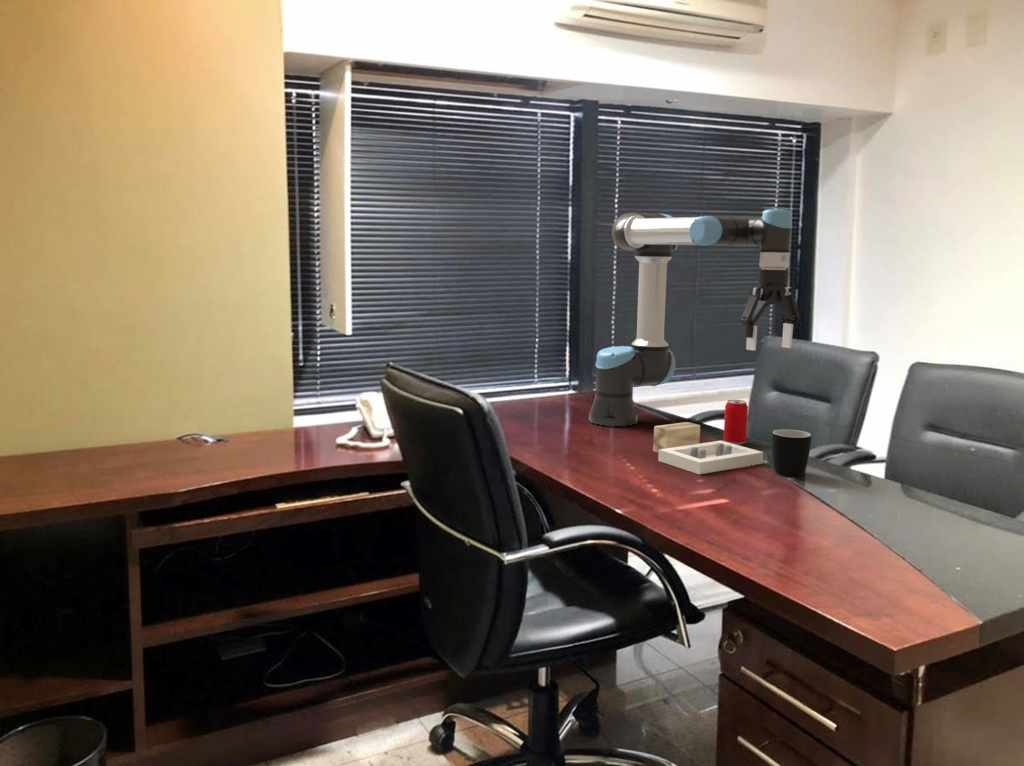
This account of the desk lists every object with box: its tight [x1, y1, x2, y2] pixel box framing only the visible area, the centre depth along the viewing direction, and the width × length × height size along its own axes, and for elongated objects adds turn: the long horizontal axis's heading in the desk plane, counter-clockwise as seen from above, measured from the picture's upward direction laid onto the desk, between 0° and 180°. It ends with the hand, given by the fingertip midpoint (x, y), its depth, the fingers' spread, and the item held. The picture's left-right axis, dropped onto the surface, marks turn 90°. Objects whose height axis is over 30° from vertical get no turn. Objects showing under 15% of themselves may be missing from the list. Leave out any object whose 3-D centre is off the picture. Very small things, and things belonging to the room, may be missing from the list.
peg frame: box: [657, 440, 764, 475], centre depth 219 cm, size 15×22×4 cm
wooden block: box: [652, 421, 701, 454], centre depth 231 cm, size 5×12×7 cm, turn 121°
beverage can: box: [723, 399, 749, 446], centre depth 240 cm, size 6×6×12 cm
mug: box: [771, 428, 812, 478], centre depth 210 cm, size 12×9×10 cm
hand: (769, 348), depth 228 cm, fingers open, 13 cm apart
